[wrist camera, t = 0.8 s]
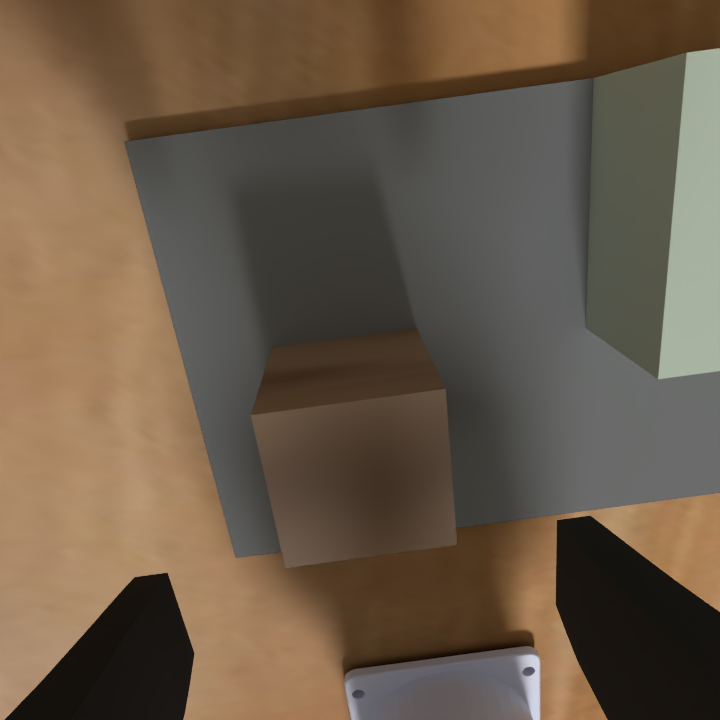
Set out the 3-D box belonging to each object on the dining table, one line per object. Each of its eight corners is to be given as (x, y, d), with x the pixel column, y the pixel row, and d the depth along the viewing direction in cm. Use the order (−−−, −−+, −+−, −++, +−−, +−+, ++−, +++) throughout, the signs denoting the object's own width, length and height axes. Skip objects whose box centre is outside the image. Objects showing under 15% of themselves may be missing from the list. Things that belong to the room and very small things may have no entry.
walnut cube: (428, 453, 18) (457, 545, 14) (296, 471, 18) (285, 568, 14) (416, 328, 16) (445, 388, 12) (271, 347, 16) (250, 415, 12)
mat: (832, 470, 20) (841, 476, 19) (237, 550, 20) (235, 557, 19) (935, 32, 15) (951, 29, 14) (129, 141, 15) (124, 141, 14)
